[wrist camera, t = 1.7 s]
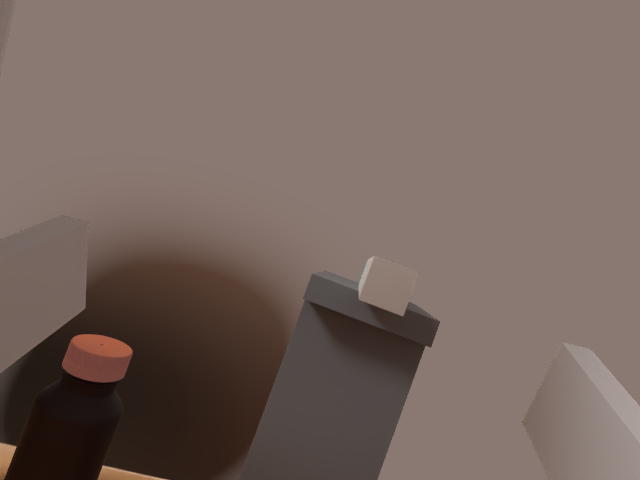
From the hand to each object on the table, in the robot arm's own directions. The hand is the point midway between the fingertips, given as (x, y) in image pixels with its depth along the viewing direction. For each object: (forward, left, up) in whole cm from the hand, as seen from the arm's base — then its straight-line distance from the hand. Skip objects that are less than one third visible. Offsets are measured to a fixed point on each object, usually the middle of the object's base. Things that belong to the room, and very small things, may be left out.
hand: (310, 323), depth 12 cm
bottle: (-28, +4, -32) cm, 43 cm away
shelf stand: (-17, +21, -32) cm, 42 cm away
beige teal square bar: (-14, +18, 0) cm, 23 cm away
